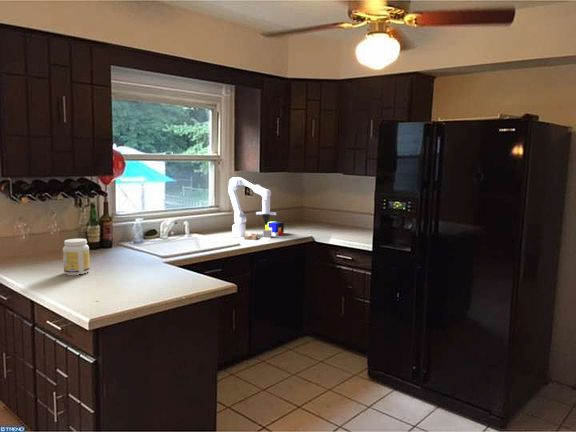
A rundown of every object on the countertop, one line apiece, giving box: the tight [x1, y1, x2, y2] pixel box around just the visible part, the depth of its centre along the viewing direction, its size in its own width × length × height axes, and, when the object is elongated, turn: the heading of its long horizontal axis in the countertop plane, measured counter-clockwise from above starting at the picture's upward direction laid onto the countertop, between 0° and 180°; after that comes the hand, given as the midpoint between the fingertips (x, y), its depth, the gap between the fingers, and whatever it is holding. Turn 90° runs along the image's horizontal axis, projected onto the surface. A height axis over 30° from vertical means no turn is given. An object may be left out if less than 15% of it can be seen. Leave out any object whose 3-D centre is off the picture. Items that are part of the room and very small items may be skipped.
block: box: [262, 229, 272, 239], centre depth 345 cm, size 5×5×5 cm
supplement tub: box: [62, 238, 91, 276], centre depth 237 cm, size 12×12×17 cm
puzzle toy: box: [264, 220, 285, 237], centre depth 357 cm, size 10×10×10 cm
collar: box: [243, 233, 259, 241], centre depth 338 cm, size 8×8×3 cm
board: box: [259, 237, 271, 242], centre depth 338 cm, size 8×20×1 cm, turn 172°
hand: (266, 224), depth 343 cm, fingers closed
